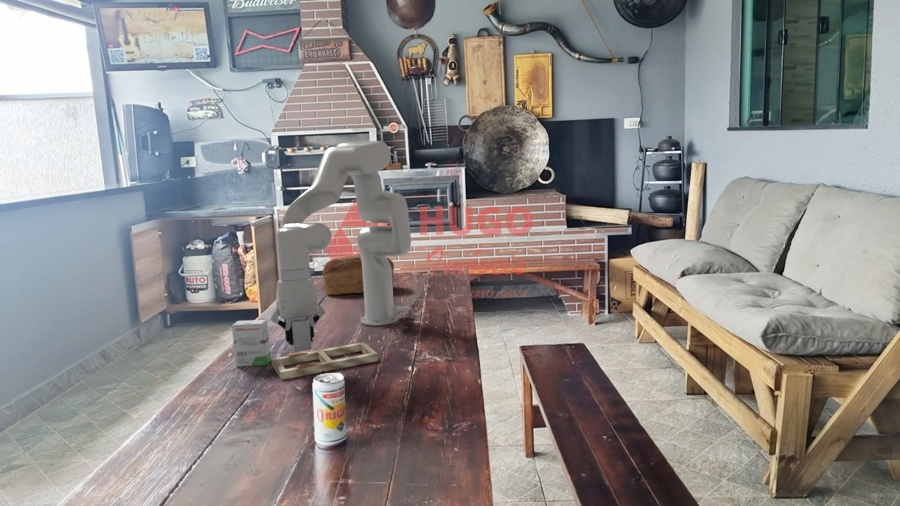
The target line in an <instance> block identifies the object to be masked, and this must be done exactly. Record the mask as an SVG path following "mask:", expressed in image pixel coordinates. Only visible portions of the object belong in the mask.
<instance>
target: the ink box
mask: <svg viewBox="0 0 900 506" xmlns="http://www.w3.org/2000/svg"><path fill="white" fill-rule="evenodd" d="M231 332H232V339H233V340H232V341H233V348H234V351H233V352H234V358H235V366H236V367H237V368H238V367H256V366H257V367H259V366H260V367H261V366H268V365H269V363H270V362H272V354H271V344H270V337H269V336H270V335H269V327H268V319H260V320H259V319H253V320H237V321H235V323H233V324H232V325H231Z"/></svg>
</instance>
